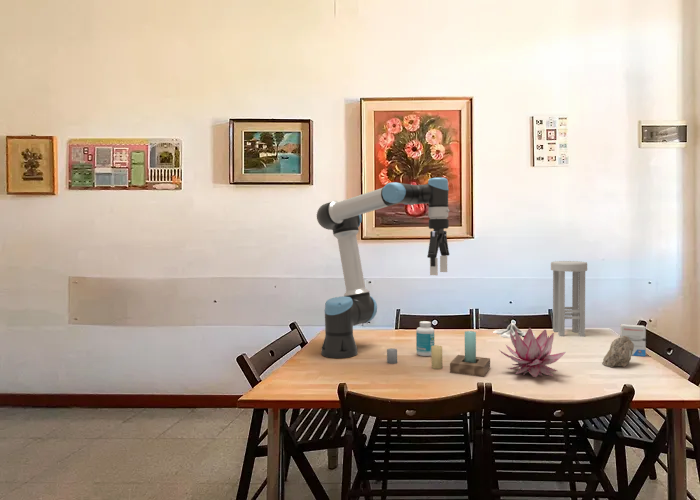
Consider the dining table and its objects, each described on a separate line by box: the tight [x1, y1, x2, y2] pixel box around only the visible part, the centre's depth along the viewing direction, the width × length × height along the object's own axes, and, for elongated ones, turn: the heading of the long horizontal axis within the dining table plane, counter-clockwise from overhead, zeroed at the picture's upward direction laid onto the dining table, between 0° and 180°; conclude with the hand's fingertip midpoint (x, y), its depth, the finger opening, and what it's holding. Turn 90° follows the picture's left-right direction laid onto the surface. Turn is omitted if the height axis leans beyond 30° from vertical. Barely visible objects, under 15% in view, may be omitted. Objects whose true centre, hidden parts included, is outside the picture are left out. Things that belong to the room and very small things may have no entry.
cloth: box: [492, 322, 536, 339], centre depth 231 cm, size 22×19×6 cm
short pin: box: [386, 348, 398, 365], centre depth 184 cm, size 4×4×5 cm
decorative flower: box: [498, 327, 566, 378], centre depth 167 cm, size 21×21×15 cm
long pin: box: [464, 330, 477, 363], centre depth 172 cm, size 4×4×14 cm
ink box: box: [619, 323, 647, 357], centre depth 190 cm, size 8×5×12 cm, turn 65°
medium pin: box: [430, 344, 443, 370], centre depth 176 cm, size 4×4×8 cm
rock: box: [601, 336, 634, 368], centre depth 176 cm, size 14×10×8 cm
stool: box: [550, 260, 588, 337], centre depth 228 cm, size 16×16×35 cm
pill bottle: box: [415, 320, 435, 357], centre depth 195 cm, size 8×7×14 cm
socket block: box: [449, 354, 491, 378], centre depth 173 cm, size 12×12×4 cm
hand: (438, 273), depth 182 cm, fingers open, 13 cm apart
